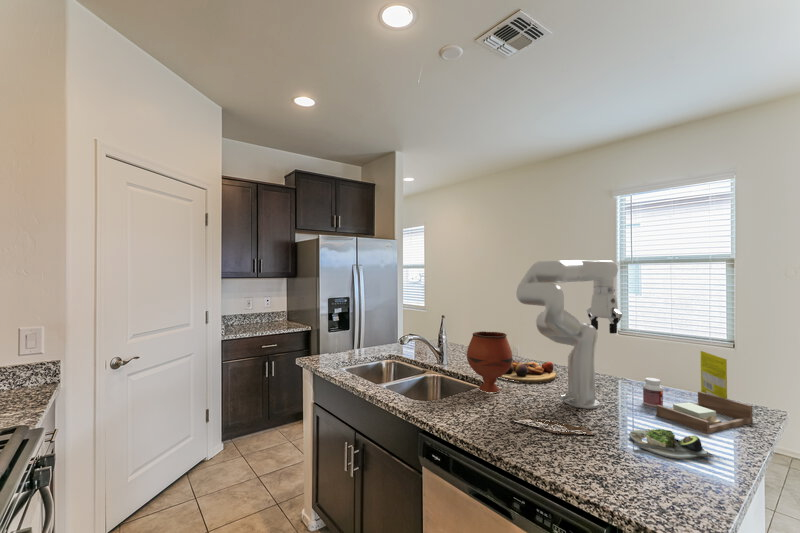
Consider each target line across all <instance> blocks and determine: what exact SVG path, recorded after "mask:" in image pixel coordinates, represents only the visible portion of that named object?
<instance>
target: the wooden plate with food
mask: <svg viewBox="0 0 800 533" xmlns="http://www.w3.org/2000/svg"><path fill="white" fill-rule="evenodd" d="M500 377H502V378H505V379H508V380H514V381H519V382H529V383H528V384H540V383H539V382H543V383H547V382H552V381H554V380H555V379H556V378H557V373H556V371H554V363H553V362H552V361H549V360H548V361H545V362H544V363H542V364H541V366H540V364H539V363H537V362H535V361H532V362H531V361H530V362H529V361H528V362H519V361H517V360H512V365H511V367H510V368H509V370H508V371H507V372H506V373H505V374H504V375H502V376H500Z"/></svg>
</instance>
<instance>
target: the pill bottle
mask: <svg viewBox="0 0 800 533" xmlns="http://www.w3.org/2000/svg"><path fill="white" fill-rule="evenodd" d="M644 382H645V383H644V384H643V385H642V397H643V398H642V403H643V405H645V406H647V407H650V408H655V409H656V405H661V406H664V388H663V387H662V386H661V380H660V379H659V378H655V377H645V379H644Z"/></svg>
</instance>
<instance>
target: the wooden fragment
mask: <svg viewBox="0 0 800 533" xmlns="http://www.w3.org/2000/svg"><path fill="white" fill-rule="evenodd" d="M527 418H528V417H526V418H525V419H527ZM533 418H534V417H533ZM534 419H536V418H534ZM534 419H532V418H531V420H534ZM549 420H550V422H549V421H546V422H545V421H541V420H538V422H542V423H544V422H545V423H549V424H548V425H550V424H552V425H554V424H557V423H558V425H559V423H560V422H557V421H553V420H552V419H549ZM536 421H537V420H536ZM552 421H553V422H552ZM560 425H561V426H565V427H566V428H567V429H572V430H582V431H583V430H586V429H587V428H586V427H585V426H582V425H580V426H581V427H574V426H573V427H572V425H573V424H568V423H564V425H563V423H560ZM569 425H570V426H569ZM553 427H554V426H553ZM538 429H540V430H542V431H543V430H544V431H546V432H550V433H553V434H556V433H557V434H558V431H553V430H549V429H544V428H538ZM583 432H586V434H587V435H586V436H588V435H593V436H595V434H594V433H593V432H591V431H590V430H589V429H587V430H586V431H583ZM559 433H561V434H560V435H577V434H576V433H574V432H573V433H572V432H570V431H569V432H568V431H567V432H566V431H565V432H559ZM578 435H580V434H578ZM584 436H585V434H584Z"/></svg>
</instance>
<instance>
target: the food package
mask: <svg viewBox="0 0 800 533" xmlns="http://www.w3.org/2000/svg"><path fill="white" fill-rule="evenodd" d="M727 365H728V363H727V359H726V358H723V357H720V356H717V355H714V354H711V353H709V352H706V351H703V350H700V392H703V393H707V394H711V395H714V396H718V397H722V398H725V399H728V378H727V377H728V373H727V372H728V371H727V370H728V366H727Z"/></svg>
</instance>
